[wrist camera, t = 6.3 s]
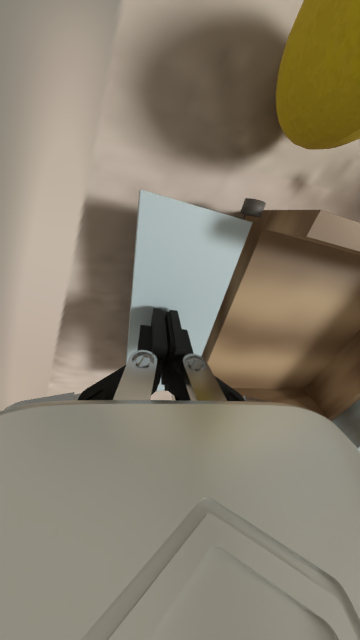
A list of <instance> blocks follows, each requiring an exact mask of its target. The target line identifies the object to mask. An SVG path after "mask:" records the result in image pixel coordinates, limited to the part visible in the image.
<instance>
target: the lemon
mask: <svg viewBox="0 0 360 640" xmlns="http://www.w3.org/2000/svg"><path fill="white" fill-rule="evenodd" d="M276 111H277V115H278V120H279V124H280V126H281V128H282V130H283V132H284V134H285V135H286V137H287V138H288V139H290V140H291V141H292V142H293V143H294V144H296V145H298V146H301V147H303V148H306V149H330V148H335V147H338V146H342V145H344V144H347V143H350V142H352V141H355V140H358V139H360V0H304V2H303V4H302V6H301V8H300V11H299V13H298V15H297V18H296V20H295V23H294V25H293V27H292V30H291V32H290V34H289V37H288V39H287V43H286V46H285V49H284V53H283V56H282V60H281V64H280V67H279V72H278V80H277V88H276Z"/></svg>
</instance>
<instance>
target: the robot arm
mask: <svg viewBox="0 0 360 640" xmlns="http://www.w3.org/2000/svg"><path fill="white" fill-rule="evenodd" d="M160 379H161V384H162V385H164V387H165V391H169V392H170V393H171V394H172V400H150V398H151V395H152V394H153V393H154V392H155V391H157V388H158V385H159V383H160ZM0 640H360V451H359V450H358V448H357V447H356V446H355V445H354V444H353V443H352V442H351V441H350V439H349V438H348V437H347V436H346V435H345V434H344V433H343V432H342V431H341V430H340V429H339V428H338V427H337V426H336V425H335V424H334V423H333V422H332V421H330V420H329V419H327V418H326V417H324V416H322V415H320V414H318V413H316V412H314V411H311V410H309V409H306V408H303V407H299V406H295V405H290V404H284V403H273V402H269V401H265V400H261V399H257V398H253V397H249V396H244V397H242V395H241V394H239V393H238V392H237V391H236V390H234V389H233V388H231V387H230V386H228V385H227V384H226V383H224V382H223V381H221V380H220V379H218V378H217V377H216V376H214V374H213V373H212V371H211V369H210V367H209V365H208V363H207V361H206V360H205V359H204V358H203V357H201V356H200V355H197V354H194V353H193V349H192V346H191V342H190V338H189V335H188V331H187V330H185V329H182V328H181V323H180V319H179V315H178V311H176V310H169V312H168V311H166V315H165V312H164V311H162V309H161V308H153V314H152V320H151V326H148V325H140V332H139V341H138V349H137V351H136V352H134V353H132V354H131V355H130V357H129V359H128V362H127V365H125V366H124V367H122V368H120V369H119V370H117V371H115V372H114V373H112V374H111V375H109V376H107V377H106V378H104V379H102V380H101V381H99V382H97V383H96V384H94V385H92V386H91V387H89V388H87V389H86V390H85V391H83V392H82V393H81V394H75V395H74V392H73V393H67V394H61V395H55V396H49V397H43V398H37V399H31V400H25V401H21V402H17V403H15V404H13V405H11V406H9V407H7V408H6V409H5V410H3V411H0Z"/></svg>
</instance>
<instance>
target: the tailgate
mask: <svg viewBox="0 0 360 640" xmlns="http://www.w3.org/2000/svg"><path fill="white" fill-rule="evenodd" d="M252 223H253V222H250V221H246V220H243V219H240V218H236V217H233V216H229V215H226V214H222V213H219V212H216V211H212V210H209V209H205V208H202V207H199V206H195V205H192V204H188V203H185V202H181V201H178V200H175V199H171V198H168V197H164V196H161V195H157V194H154V193H151V192H147V191H144V190H140V191H139V202H138V214H137V227H136V240H135V253H134V266H133V279H132V292H131V304H130V317H129V330H128V343H127V356H126V365H127V362H128V359H129V357H130V355H131V354H132V353H134V352H136V351H137V349H138V341H139V332H140V325H148V326H151V320H152V314H153V308H161V309H162V311H164V312H165V315H166V311H168V312H169V310H176V311H178V315H179V319H180V323H181V328H182V329H185V330H187V331H188V335H189V338H190V342H191V346H192V349H193V353H194V354H197V355H200V356H202V354H203V351H204V348H205V346H206V343H207V340H208V338H209V335H210V333H211V330H212V327H213V325H214V322H215V320H216V317H217V314H218V312H219V309H220V306H221V304H222V301H223V299H224V296H225V293H226V291H227V288H228V286H229V283H230V280H231V278H232V275H233V272H234V270H235V267H236V265H237V262H238V259H239V257H240V254H241V252H242V249H243V246H244V244H245V241H246V238H247V236H248V233H249V231H250V228H251V225H252ZM162 390H165V387H164V385H162V384H161V379H160V383H159V385H158V388H157V391H162Z"/></svg>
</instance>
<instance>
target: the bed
mask: <svg viewBox="0 0 360 640" xmlns="http://www.w3.org/2000/svg"><path fill="white" fill-rule="evenodd" d="M265 204H266V203H265V202H263V201H260V200H256V199H249V198H246V199H245V201H244V204H243V207H242V210H241V213H242V214H244V215H246V216H245V218H244V220H246V221H250V222H253V223H252V225H251V228H250V231H249V233H248V236H247V238H246V241H245V244H244V246H243V249H242V252H241V254H240V257H239V259H238V262H237V265H236V267H235V270H234V272H233V275H232V278H231V280H230V283H229V286H228V288H227V291H226V293H225V296H224V299H223V301H222V304H221V306H220V309H219V312H218V314H217V317H216V320H215V322H214V325H213V327H212V330H211V333H210V335H209V338H208V340H207V343H206V346H205V348H204V351H203V354H202V356H201V357H203V358H204V359H205V360H206V361H207V363H208V365H209V367H210V369H211V371H212V373H213V374H214V376H216V377H217V378H218V379H220V380H221V381H223V382H224V383H226V384H227V385H228V386H230V387H231V388H233V389H234V390H236V391H237V392H238V393H239V394H241V395H242V397H244V396H249V397H253V398H257V399H261V400H265V401H269V402H273V403H284V404H290V405H295V406H299V407H303V408H306V409H309V410H311V411H314V412H316V413H318V414H320V415H322V416H324V417H326V418H327V419H329V420H330V421H332V422H333V423H334V424H335V425H336V426H337V427H338V428H339V429H340V430H341V431H342V432H343V433H344V434H345V435H346V436H347V437H348V438H349V439H350V441H351V442H352V443H353V444H354V445H355V446H356V447H357V448H358V449H360V223H359V222H356V221H353V220H350V219H347V218H344V217H341V216H338V215H335V214H332V213H329V212H326V211H323V210H263V209H264V207H265Z"/></svg>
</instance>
